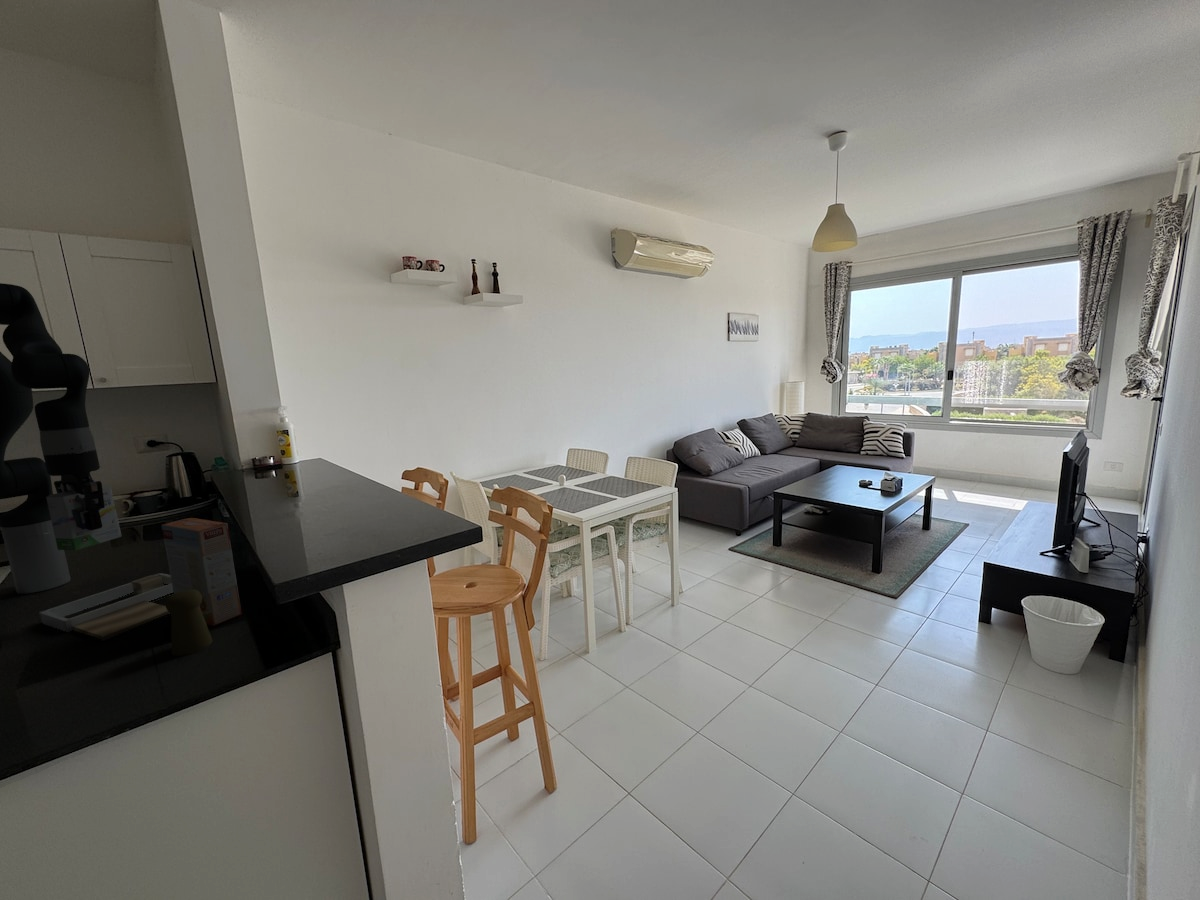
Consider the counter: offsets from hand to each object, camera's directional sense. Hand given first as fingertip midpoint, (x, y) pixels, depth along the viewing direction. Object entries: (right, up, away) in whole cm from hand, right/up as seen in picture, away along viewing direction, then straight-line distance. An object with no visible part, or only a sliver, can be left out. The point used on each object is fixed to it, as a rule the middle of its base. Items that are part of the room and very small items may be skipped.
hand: (87, 527), depth 103 cm
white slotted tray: (-1, -19, +9) cm, 21 cm away
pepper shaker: (+32, -21, -11) cm, 40 cm away
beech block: (+1, -18, +14) cm, 23 cm away
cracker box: (+25, -20, +2) cm, 32 cm away
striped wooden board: (+8, -20, 0) cm, 22 cm away
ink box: (0, -4, +1) cm, 4 cm away
